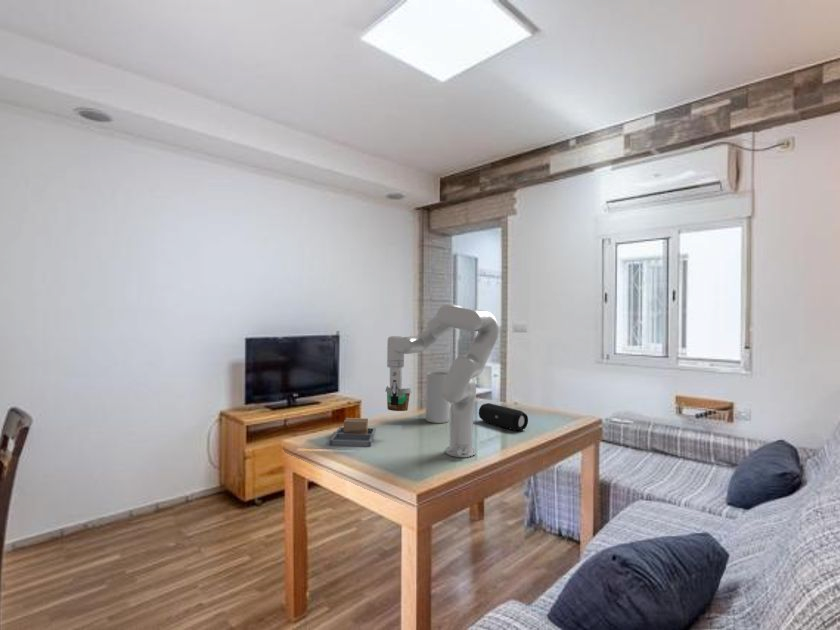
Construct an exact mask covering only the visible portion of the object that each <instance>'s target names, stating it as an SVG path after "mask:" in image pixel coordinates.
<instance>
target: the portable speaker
mask: <svg viewBox="0 0 840 630" xmlns="http://www.w3.org/2000/svg"><path fill="white" fill-rule="evenodd" d="M478 417H479V418H480V419H481V420H482V421H483V422H484V423H487V422H488V423H487V424H490V423H491V425H494V424H495V426H497V425H499V426H498V427H501V426H503V427H502V428H505V427H507V428H506V429H508V428H511V429H510V430H512V429H515V430H514V431H516V430H519V431H523V429H524V430H525V429H526V428H527V426H528V424H529V417H528V414H527V413H526V412H524V411H523V410H520V409H515V408H511V407H507V406H503V405H499V404H496V403H495V404H494V403H491V402H490V403H489V402H487V403H483V404H481V405H480V407H479V409H478Z"/></svg>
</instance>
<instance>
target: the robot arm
mask: <svg viewBox="0 0 840 630" xmlns="http://www.w3.org/2000/svg"><path fill="white" fill-rule="evenodd" d="M426 325H427V326H426V328H425V329H424V330H423V331H422V332H420V333H419V334H417V335H411V336H399V335H397V336H396V335H394V336H393V335H392V336H389V337H388V338H387V341H386V343H387V347H386V350H387V352H386V355H387V356H386V357H387V358H386V359H387V360H386V362H387V363H386V364H387V365H386V367H387V368H389V388H390V389H391V390H392V393H391V405H398V389H399V390H401V389H403V388H402V387H403V382H402V381H403V372H402V371H403V370H402V368H404V367H405V355H412V354H418V353H421V352H423V351H425V350H426V349H428V348H430V347H431V346H432V345H434V344H435V343H436V342H438V340H439V339H440V338H441V337H442V336H444V335H445V334H447V333H448V332H450V331H451V330H452V329H459V330H463V331H465V332H466V331H467V332H474V333H475V332H477V334H476V335H475V337H474V339H473V340H472V342H471V343H470V347H469V349H468V350H467V351H466V354H461V355H459V356H457V357H456V358H455V359H454V360H453V361H452V363H451V365H450V367H449V371H448V372H447V373H448V374H447V376H446V378H445V381H444V383H443V386H442V396H443V398H444V399H445V400H446V401H447V402H449V403H450V414H449V440H448V441H449V445H448V446H447V447H446V448H445V454H447V455H448V456H451V457H454V458H470V456H471V457H473V455H474V456H475V455H476V454H477V450H476V449H475V448H474V447H473V440H474V439H473V435H474V434H473V433H474V432H473V431H474V413H475V411H474V410H475V408H474V407H475V400H476V396H477V395H476V394H477V386H476V383H475V381H474V380H473V379H472V378H475V377H478V376H480V375H481V374H482V372H483V371H484V369H485V366H486V364H487V362H488V359H489V358H490V355H491V353H492V351H493V349H494V346H495V344H496V342H497V340H498V337H499V332H500V330H499V329H500V328H499V322H498V320H497V319H496V316H495V315H493V313H491V312H489V311H488V310H485V309H471V308H470V309H469V308H465V307H464V308H463V306H461V305H459V304H455V303H447V304H446V303H445V304H442V305H441V306H440V307H439V308H438V309H437V311H436V315H435V316H433V317H431V319H429V320H428V321H427V323H426ZM396 388H397V389H396ZM396 391H397V392H396Z"/></svg>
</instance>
